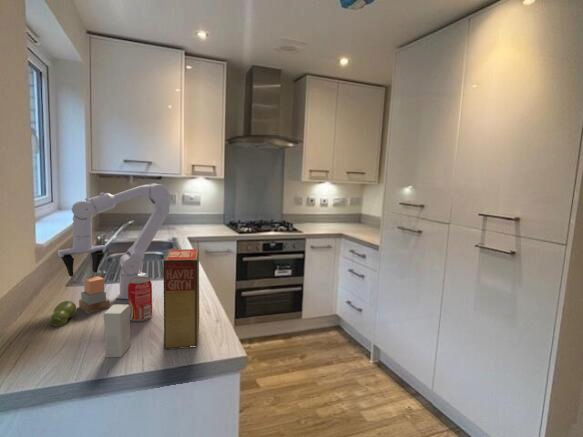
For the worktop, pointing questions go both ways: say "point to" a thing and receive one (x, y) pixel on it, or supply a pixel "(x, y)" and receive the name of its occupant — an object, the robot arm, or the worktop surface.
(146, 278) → the soda can
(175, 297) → the food packaging
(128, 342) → the skincare box
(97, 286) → the terracotta cube
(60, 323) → the pear
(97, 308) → the walnut base
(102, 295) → the slate block
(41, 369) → the worktop surface
